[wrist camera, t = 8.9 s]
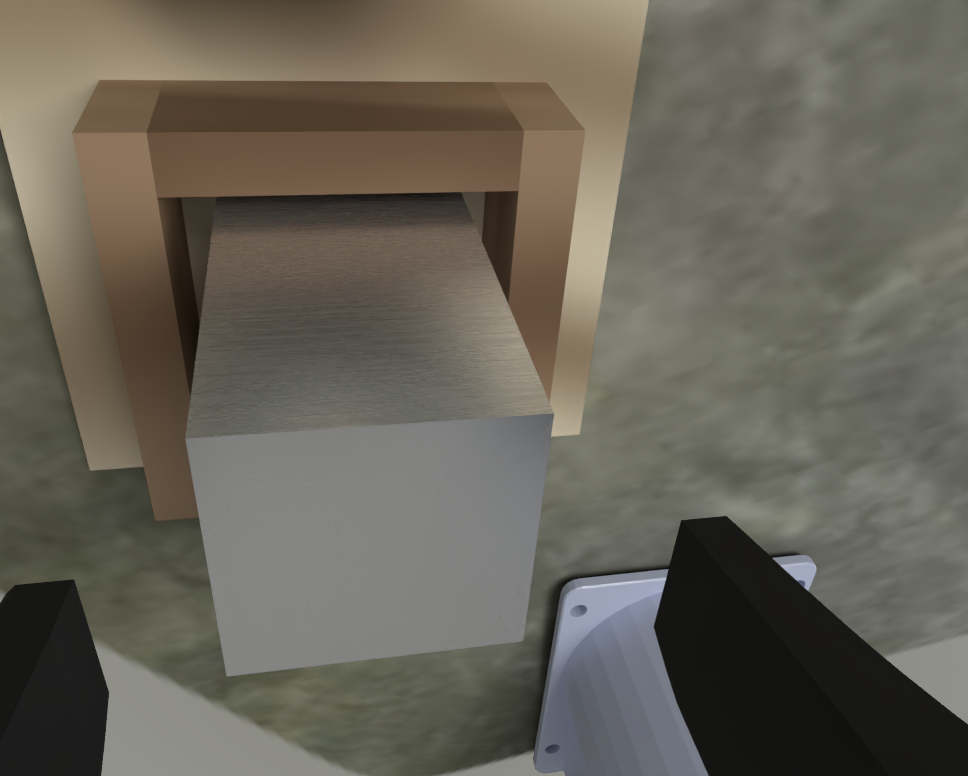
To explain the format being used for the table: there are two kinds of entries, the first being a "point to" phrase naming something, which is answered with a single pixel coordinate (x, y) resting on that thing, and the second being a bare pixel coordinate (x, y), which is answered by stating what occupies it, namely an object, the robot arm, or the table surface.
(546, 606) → the table surface
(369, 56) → the socket board
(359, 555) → the square peg
